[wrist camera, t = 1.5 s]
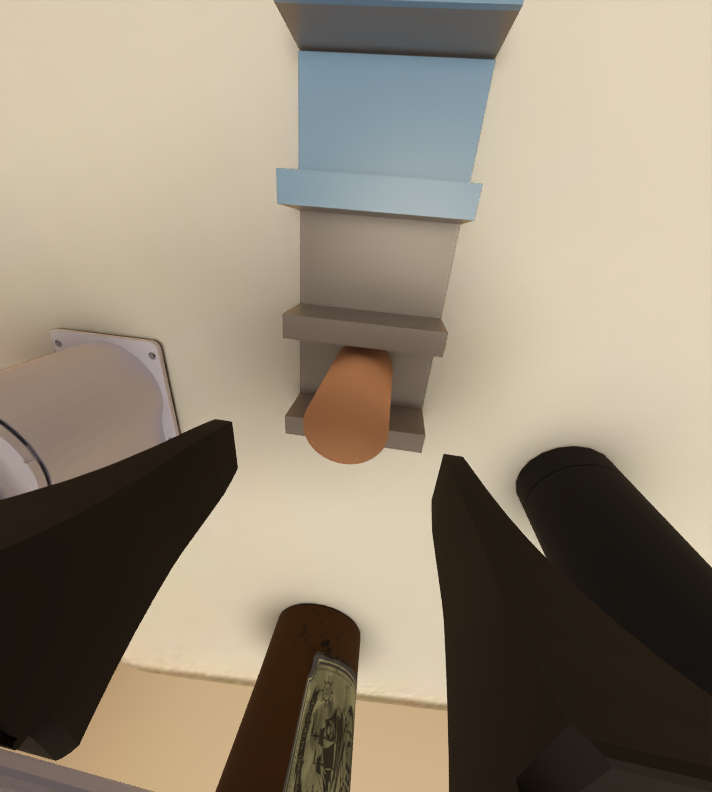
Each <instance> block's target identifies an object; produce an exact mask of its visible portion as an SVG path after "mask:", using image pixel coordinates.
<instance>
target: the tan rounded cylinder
mask: <svg viewBox="0 0 712 792" xmlns="http://www.w3.org/2000/svg"><path fill="white" fill-rule="evenodd" d="M392 374H393V364H392V360H391V357H390V355H389V354H388V352H387V351H386V350H380V349H371V348H363V347H355V346H346V345H345V346H344V347H343V348H342V349H341V350H340V351H339V353H338V355H337V356H336V358H335V360H334V362H333V363H332V365H331V367H330V369H329V371H328V372H327V374H326V376H325V378H324V379H323V381H322V383H321V385H320V387H319V388H318V390H317V392H316V394H315V395H314V397H313V399H312V401H311V402H310V404H309V406H308V408H307V410H306V412H305V414H304V419H303V429H304V433H305V436H306V438H307V440H308V442H309V443H310V445H311V446H312V447H313V448H314V450H315V451H317V452H318V453H319V454H320V455H322V456H323V457H325V458H327V459H329V460H331V461H334V462H337V463H342V464H358V463H362V462H365V461H368V460H370V459H372V458H374V457H375V456H377V455H378V454H379V453H380V452H381V451H382V449H383V448H384V446H385V445H386V442H387V439H388V434H389V419H390V404H391V389H392Z"/></svg>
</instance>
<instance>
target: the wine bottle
mask: <svg viewBox="0 0 712 792" xmlns="http://www.w3.org/2000/svg"><path fill="white" fill-rule="evenodd" d="M516 488H517V495H518V497H519V499H520V502H521V504H522V506H523V508H524V510H525V512H526V515H527V517H528V519H529V521H530V523H531V526H532V528H533V530H534V532H535V534H536V536H537V539H538V541H539V543H540V545H541V547H542V550H543V552H544V554H545V556H546V558H547V559H548V560H549V561H550V562H551V563H552V564H553V565H554V566H555V567H556V568H557V569H558V570H559V571H560V572H561V573H562V574H563V575H564V576H565V577H566V578H567V579H568V580H569V581H570V582H571V583H572V584H573V585H575V586H576V587H577V588H578V589H579V590H580V591H581V592H582V593H584V594H585V595H586V596H587V597H588V598H589V599H590V600H591V601H593V602H594V603H595V604H596V605H597V606H598V607H599V608H600V609H601V610H603V611H604V612H605V613H606V614H607V615H608V616H610V617H611V618H612V619H613V620H614V621H616V622H617V623H618V624H619V625H620V626H622V627H623V628H624V629H625V630H626V631H628V632H629V633H630V634H631V635H633V636H634V637H635V638H636V639H638V640H639V641H640V642H641V643H643V644H644V645H645V646H646V647H648V648H649V649H650V650H651V651H653V652H654V653H655V654H656V655H658V656H659V657H660V658H661V659H663V660H664V661H665V662H666V663H668V664H669V665H670V666H672V667H673V668H674V669H675V670H677V671H678V672H680V673H681V674H682V675H684V676H685V677H686V678H688V679H689V680H690V681H692V682H693V683H694V684H696V685H697V686H699V687H700V688H701V689H703V690H704V691H705V692H707V693H708V694H709V695H711V696H712V567H711V566H710V565H709V564H708V563H707V562H706V561H705V560H704V559H703V558H702V557H701V556H700V555H699V554H698V553H697V552H696V551H695V550H694V548H693V547H692V546H691V545H690V544H689V543H688V542H687V541H686V540H685V539H684V538H683V537H682V536H681V535H680V534H679V533H678V532H677V531H676V530H675V529H674V527H673V526H672V525H671V524H670V523H669V522H668V521H667V520H666V519H665V518H664V517H663V516H662V515H661V514H660V513H659V512H658V511H657V510H656V509H655V508H654V506H653V505H652V504H651V503H650V502H649V501H648V500H647V499H646V498H645V497H644V496H643V495H642V494H641V493H640V492H639V491H638V490H637V489H636V488H635V487H634V485H633V484H632V483H631V482H630V481H629V480H628V479H627V478H626V477H625V476H624V475H623V474H622V473H621V472H620V471H619V470H618V469H617V468H616V467H615V465H614V464H613V463H612V462H611V461H610V460H609V459H608V458H607V457H606V456H605V455H603V454H601V453H599V452H596V451H594V450H592V449H588V448H581V447H567V448H558V449H555V450H552V451H549V452H546V453H543V454H541V455H540V456H538V457H536V458H535V459H533V460H532V461H530V462H529V463H528V464H527V465H526V466H525V468H524V469H523V470H522V471H521V473H520V475H519V477H518V480H517V482H516Z"/></svg>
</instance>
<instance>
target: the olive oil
mask: <svg viewBox="0 0 712 792" xmlns="http://www.w3.org/2000/svg"><path fill="white" fill-rule="evenodd" d="M359 649H360V632H359V630H358V628H357V626H356V625H355V624H354V622H353V621H352V620H351V619H349V618H348V617H347V616H345V615H344V614H342V613H340V612H338V611H336V610H333V609H331V608H328V607H324V606H319V605H297V606H293V607H290V608H288V609H287V610H285V611H284V612H283V613H282V614H281V615H280V617H279V619H278V622H277V624H276V627H275V630H274V633H273V636H272V639H271V641H270V644H269V647H268V650H267V653H266V656H265V659H264V661H263V664H262V667H261V670H260V673H259V675H258V678H257V681H256V684H255V686H254V689H253V692H252V695H251V697H250V700H249V703H248V705H247V708H246V711H245V714H244V717H243V719H242V722H241V725H240V727H239V730H238V733H237V735H236V738H235V741H234V743H233V746H232V749H231V752H230V754H229V757H228V760H227V762H226V765H225V768H224V770H223V773H222V776H221V778H220V781H219V784H218V786H217V789H216V792H350V781H351V765H352V750H353V735H354V734H353V733H354V718H355V704H356V690H357V674H358V661H359Z"/></svg>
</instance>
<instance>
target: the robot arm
mask: <svg viewBox="0 0 712 792" xmlns="http://www.w3.org/2000/svg"><path fill="white" fill-rule="evenodd" d="M49 334H50V338H51V340H52V343H53V346H54V348H55V351H56V352H55V353H52V354H48V355H45V356H42V357H39V358H36V359H33V360H30V361H27V362H23V363H20V364H17V365H14V366H11V367H8V368H5V369H2V370H0V746H1V747H4V748H8V749H12V750H20V751H24V752H27V753H30V754H34V755H37V756H41V757H45V758H48V759H52V760H55V761H56V760H59V759H61V758H63V757H64V756H66V755H67V754H69V753H71V752H72V751H73V750H74V749H75V748H76V747H77V746H79V744H80V742H81V740H82V738H83V736H84V734H85V731H86V729H87V727H88V725H89V723H90V721H91V719H92V716H93V715H94V713H95V710H96V708H97V706H98V704H99V702H100V700H101V698H102V696H103V694H104V692H105V690H106V688H107V686H108V683H109V682H110V680H111V677H112V675H113V674H114V671H115V670H116V668H117V666H118V664H119V662H120V660H121V658H122V656H123V655H124V653H125V651H126V649H127V647H128V645H129V643H130V641H131V639H132V637H133V635H134V633H135V632H136V630H137V628H138V626H139V624H140V623H141V621H142V619H143V617H144V615H145V614H146V612H147V610H148V608H149V606H150V605H151V603H152V601H153V599H154V598H155V596H156V594H157V592H158V591H159V589H160V587H161V586H162V584H163V582H164V581H165V579H166V577H167V576H168V574H169V572H170V570H171V569H172V567H173V565H174V564H175V562H176V561H177V559H178V558H179V556H180V555H181V553H182V552H183V551H184V549H185V548H186V546H187V545H188V544H189V542H190V541H191V540H192V538H193V537H194V535H195V534H196V533H197V531H198V530H199V528H200V527H201V526H202V524H203V523H204V522H205V520H206V519H207V517H208V516H209V515H210V513H211V512H212V510H213V509H214V508H215V506H216V505H217V503H218V502H219V501H220V499H221V498H222V496H223V495H224V493H225V492H226V490H227V488H228V486H229V484H230V483H231V481H232V479H233V477H234V475H235V473H236V471H237V469H238V465H237V457H236V449H235V441H234V433H233V426H232V422H230V421H224V420H217V419H215V420H212V421H209V422H207V423H204V424H202V425H200V426H198V427H195V428H193V429H191V430H189V431H187V432H184V433H182V434H180V435H179V430H178V426H177V421H176V416H175V412H174V407H173V402H172V398H171V393H170V388H169V384H168V379H167V374H166V370H165V365H164V360H163V355H162V351H161V347H160V345H159V344H158V343H157V342H156V341H153V340H146V339H138V338H130V337H122V336H114V335H106V334H99V333H91V332H83V331H75V330H67V329H59V328H57V329H53V330H51V331H50V333H49ZM153 353H154V354H155V356H156V357H155V356H153ZM432 533H433V541H434V548H435V556H436V563H437V570H438V577H439V584H440V591H441V599H442V607H443V617H444V633H445V653H446V678H447V705H448V746H449V792H712V696H711V695H709V694H708V693H707V692H705V691H704V690H703V689H701V688H700V687H699V686H697V685H696V684H694V683H693V682H692V681H690V680H689V679H688V678H686V677H685V676H684V675H682V674H681V673H680V672H678V671H677V670H675V669H674V668H673V667H672V666H670V665H669V664H668V663H666V662H665V661H664V660H663V659H661V658H660V657H659V656H658V655H656V654H655V653H654V652H653V651H651V650H650V649H649V648H648V647H646V646H645V645H644V644H643V643H641V642H640V641H639V640H638V639H636V638H635V637H634V636H633V635H631V634H630V633H629V632H628V631H626V630H625V629H624V628H623V627H622V626H620V625H619V624H618V623H617V622H616V621H614V620H613V619H612V618H611V617H610V616H608V615H607V614H606V613H605V612H604V611H603V610H601V609H600V608H599V607H598V606H597V605H596V604H595V603H594V602H593V601H591V600H590V599H589V598H588V597H587V596H586V595H585V594H584V593H582V592H581V591H580V590H579V589H578V588H577V587H576V586H575V585H573V584H572V583H571V582H570V581H569V580H568V579H567V578H566V577H565V576H564V575H563V574H562V573H561V572H560V571H559V570H558V569H557V568H556V567H555V566H554V565H553V564H552V563H551V562H550V561H549V560H548V559H547V558H546V557H545V556H544V555H543V554H542V553H541V552H540V551H539V550H538V549H537V548H536V547H535V546H534V545H533V544H532V543H531V542H530V541H529V540H528V539H527V537H526V536H525V535H524V534H523V533H522V532H521V531H520V530H519V528H518V527H517V526H516V525H515V524H514V523H513V522H512V520H511V519H510V518H509V517H508V516H507V514H506V513H505V512H504V511H503V510H502V508H501V507H500V506H499V505H498V503H497V502H496V501H495V499H494V498H493V497H492V496H491V494H490V493H489V492H488V490H487V489H486V488H485V486H484V485H483V484H482V482H481V481H480V480H479V478H478V477H477V475H476V474H475V473H474V471H473V470H472V468H471V467H470V466H469V464H468V463H467V462H466V460H465V459H464V458H463V457H460V456H454V455H447V454H444V455H443V458H442V462H441V466H440V470H439V474H438V478H437V482H436V486H435V489H434V493H433V497H432ZM0 792H153V791H150V790H146V789H142V788H139V787H135V786H132V785H128V784H125V783H121V782H117V781H114V780H110V779H107V778H103V777H100V776H96V775H93V774H89V773H86V772H82V771H78V770H75V769H71V768H68V767H64V766H61V765H57V764H54V763H50V762H46V761H43V760H39V759H36V758H32V757H29V756H25V755H21V754H18V753H14V752H11V751H7V750H4V749H0Z"/></svg>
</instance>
